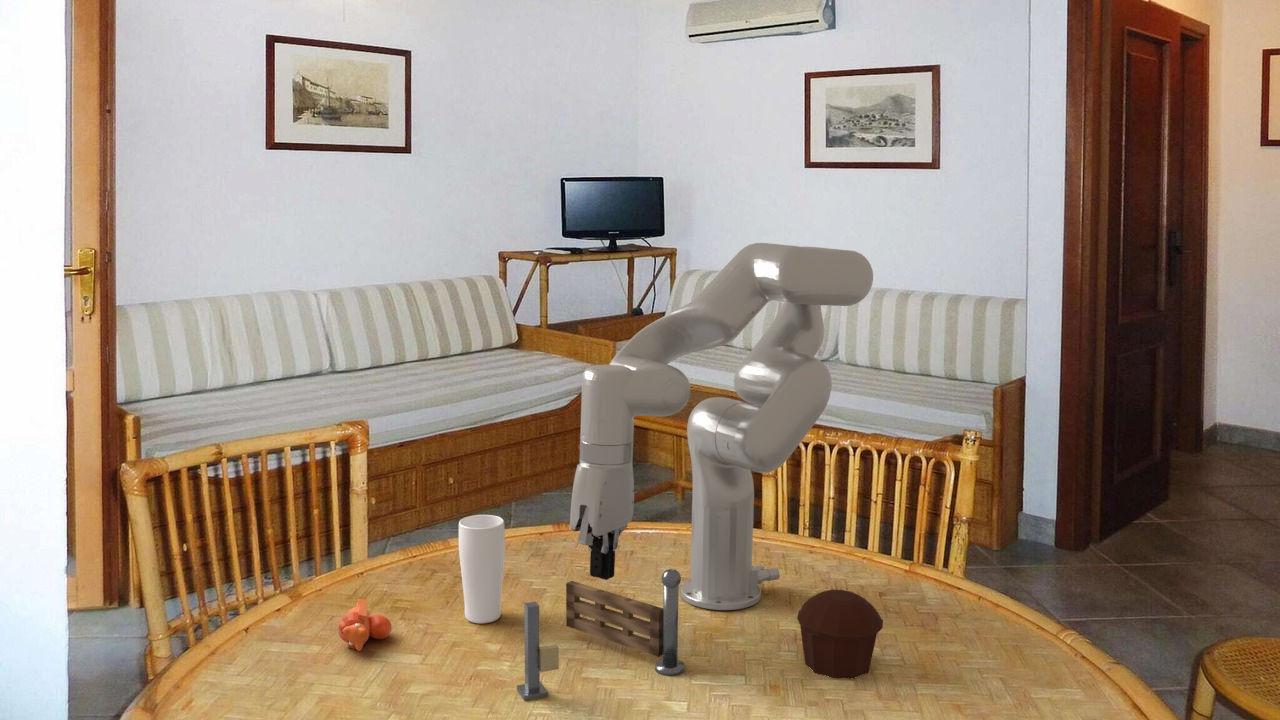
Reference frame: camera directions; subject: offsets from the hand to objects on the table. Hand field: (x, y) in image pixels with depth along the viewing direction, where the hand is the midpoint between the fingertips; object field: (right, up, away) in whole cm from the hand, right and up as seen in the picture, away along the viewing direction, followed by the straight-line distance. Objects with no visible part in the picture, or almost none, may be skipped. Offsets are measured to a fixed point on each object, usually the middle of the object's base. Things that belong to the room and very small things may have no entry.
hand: (602, 576), depth 165 cm
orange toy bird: (-33, -9, -2) cm, 35 cm away
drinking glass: (-18, -7, +6) cm, 20 cm away
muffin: (+33, -11, -9) cm, 35 cm away
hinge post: (+10, -10, -11) cm, 18 cm away
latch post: (-8, -12, -18) cm, 23 cm away
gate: (+2, -8, -5) cm, 10 cm away
